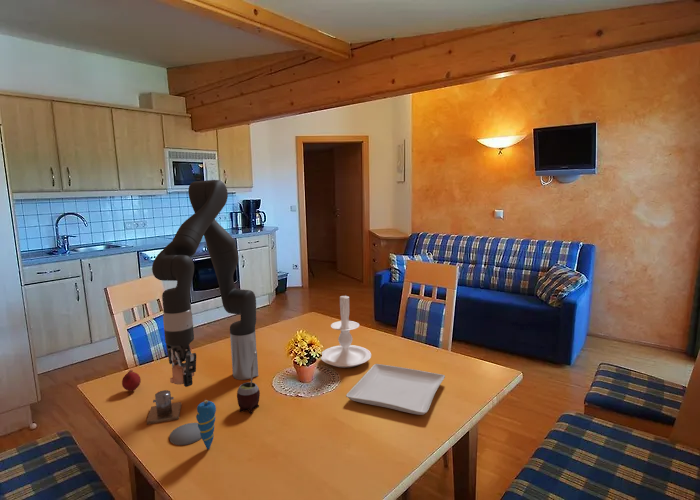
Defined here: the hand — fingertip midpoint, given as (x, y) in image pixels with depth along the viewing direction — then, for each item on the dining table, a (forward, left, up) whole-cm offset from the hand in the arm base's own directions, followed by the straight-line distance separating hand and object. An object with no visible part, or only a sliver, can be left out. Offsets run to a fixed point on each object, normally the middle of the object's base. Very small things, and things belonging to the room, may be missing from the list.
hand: (183, 382), depth 119 cm
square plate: (-67, -2, -17) cm, 69 cm away
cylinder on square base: (+8, -14, -16) cm, 23 cm away
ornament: (-6, +9, -17) cm, 20 cm away
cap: (0, 0, +1) cm, 1 cm away
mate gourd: (-18, -9, -17) cm, 26 cm away
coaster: (0, 0, -16) cm, 16 cm away
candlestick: (-58, -34, -17) cm, 69 cm away
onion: (+21, -34, -17) cm, 43 cm away
